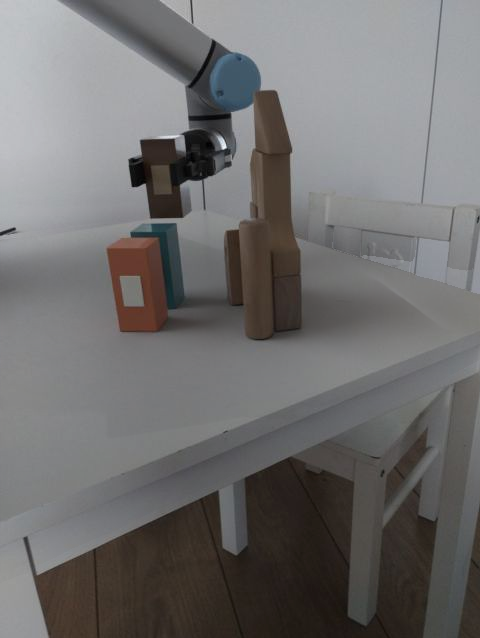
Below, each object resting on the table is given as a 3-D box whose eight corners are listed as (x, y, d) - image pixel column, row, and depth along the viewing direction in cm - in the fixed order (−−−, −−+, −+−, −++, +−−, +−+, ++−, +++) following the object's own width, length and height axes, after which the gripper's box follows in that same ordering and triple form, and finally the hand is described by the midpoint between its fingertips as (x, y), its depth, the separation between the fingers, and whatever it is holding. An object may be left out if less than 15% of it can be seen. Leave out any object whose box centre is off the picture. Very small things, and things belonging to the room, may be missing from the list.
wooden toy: (224, 297, 76) (209, 92, 66) (273, 291, 78) (265, 89, 67) (248, 342, 63) (233, 92, 52) (307, 334, 64) (303, 88, 53)
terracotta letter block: (133, 316, 71) (121, 237, 67) (168, 317, 71) (158, 237, 66) (119, 331, 67) (105, 248, 63) (156, 332, 66) (145, 248, 62)
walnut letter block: (160, 211, 80) (151, 136, 76) (192, 211, 80) (184, 135, 76) (149, 219, 76) (139, 139, 72) (182, 218, 76) (174, 138, 71)
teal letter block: (152, 296, 78) (142, 223, 74) (184, 296, 77) (176, 223, 73) (140, 309, 74) (129, 232, 69) (175, 309, 73) (165, 231, 69)
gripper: (254, 176, 92) (225, 204, 71) (149, 179, 94) (91, 207, 74) (251, 126, 89) (220, 140, 68) (143, 131, 91) (80, 146, 70)
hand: (153, 175), depth 71 cm, fingers closed on walnut letter block, 5 cm apart
